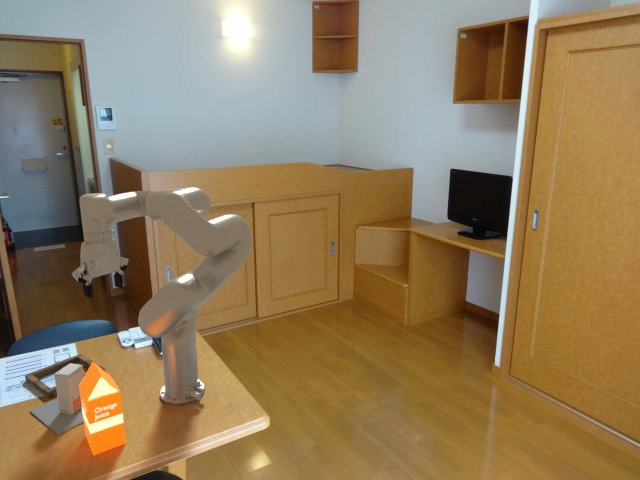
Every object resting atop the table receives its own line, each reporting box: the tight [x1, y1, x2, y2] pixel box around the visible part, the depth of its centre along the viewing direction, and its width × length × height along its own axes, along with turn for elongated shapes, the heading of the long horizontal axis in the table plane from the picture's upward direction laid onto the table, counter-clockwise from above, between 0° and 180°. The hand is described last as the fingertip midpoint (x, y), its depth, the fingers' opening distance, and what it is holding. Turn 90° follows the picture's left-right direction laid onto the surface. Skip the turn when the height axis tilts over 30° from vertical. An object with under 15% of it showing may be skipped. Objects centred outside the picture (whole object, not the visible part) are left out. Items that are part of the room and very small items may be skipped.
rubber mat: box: [29, 398, 84, 436], centre depth 131 cm, size 16×15×1 cm
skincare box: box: [54, 363, 85, 415], centre depth 130 cm, size 6×4×12 cm
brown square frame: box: [24, 353, 106, 399], centre depth 147 cm, size 15×17×2 cm
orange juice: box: [79, 361, 127, 456], centre depth 117 cm, size 8×9×20 cm
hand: (104, 292), depth 141 cm, fingers open, 9 cm apart
